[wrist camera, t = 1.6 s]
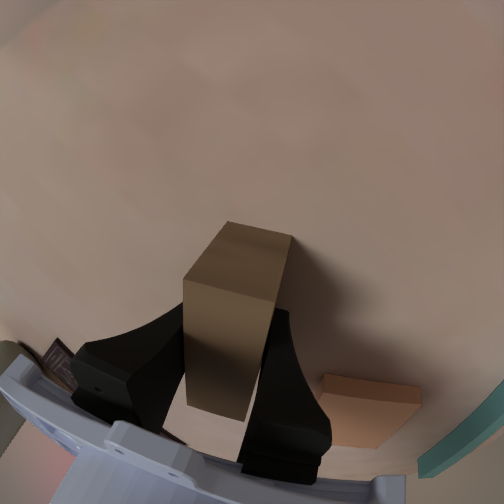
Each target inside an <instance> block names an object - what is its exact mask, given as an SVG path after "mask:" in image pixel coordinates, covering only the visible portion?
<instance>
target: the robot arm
mask: <svg viewBox="0 0 504 504" xmlns="http://www.w3.org/2000/svg"><path fill="white" fill-rule="evenodd" d="M69 367H70V370H71V372H72V374H73V376H74V378H75V380H76V382H77V384H78V388H77V389H76V390H75V392H74V393H73V394H72V393H70V392H68V391H67V390H65V389H63V388H62V387H60V386H59V385H57V384H56V383H54V382H53V381H51V380H49V379H48V378H47V377H45V376H44V375H42V374H41V371H40V369H39V368H38V366H37V365H36V364H35V363H34V362H33V361H31V360H30V359H29V358H27V357H26V356H24V355H23V354H20V355H19V356H18V357H17V358H16V359H15V360H14V362H13V363H12V364H11V365H10V366H9V367H8V368H7V370H6V371H5V372H4V373H3V374H2V375H1V376H0V391H1V393H2V394H3V395H4V396H5V398H6V399H7V400H8V401H9V403H10V404H11V405H12V406H13V408H14V409H15V410H16V411H17V412H18V413H20V414H21V415H22V416H23V417H24V418H25V419H27V420H28V421H29V422H30V423H31V424H33V425H34V426H35V427H36V428H38V429H39V430H40V431H41V432H43V433H44V434H45V435H46V436H48V437H49V438H50V439H52V440H53V441H54V442H56V443H57V444H58V445H60V446H61V447H62V448H64V449H65V450H66V451H68V452H69V453H71V454H72V455H74V456H75V457H76V459H75V460H74V462H73V463H72V465H71V467H70V468H69V470H68V472H67V474H66V475H65V477H64V479H63V480H62V482H61V484H60V485H59V487H58V489H57V491H56V492H55V494H54V496H53V498H52V499H51V501H50V503H49V504H406V476H405V475H381V476H377V477H375V478H374V479H372V480H371V481H355V480H339V479H328V478H318V477H317V473H318V466H320V464H321V457H322V456H323V455H324V454H325V453H326V452H327V451H328V450H329V449H330V447H331V445H332V428H331V422H330V419H329V418H328V416H327V415H326V414H325V412H324V411H323V410H322V408H321V407H320V405H319V404H318V402H317V400H316V399H315V397H314V395H313V393H312V392H311V390H310V388H309V386H308V384H307V382H306V380H305V378H304V375H303V373H302V371H301V368H300V365H299V363H298V360H297V356H296V353H295V349H294V346H293V341H292V336H291V331H290V323H289V312H288V311H287V310H283V309H279V308H275V310H274V313H273V317H272V321H271V325H270V329H269V333H268V337H267V341H266V345H265V349H264V353H263V357H262V363H261V369H260V375H259V381H258V387H257V393H256V397H255V401H254V405H253V408H252V412H251V415H250V419H249V422H248V426H247V429H246V432H245V436H244V439H243V442H242V446H241V449H240V452H239V455H238V458H237V462H233V461H229V460H225V459H222V458H218V457H215V456H212V455H208V454H205V453H202V452H199V451H196V450H194V449H192V448H190V447H188V446H185V445H183V444H181V443H178V442H175V441H172V440H170V439H167V438H165V437H162V436H160V432H161V429H162V427H163V424H164V421H165V418H166V416H167V413H168V410H169V408H170V405H171V403H172V400H173V398H174V395H175V393H176V390H177V388H178V386H179V383H180V381H181V379H182V377H183V375H184V373H185V361H184V332H183V302H182V303H180V304H179V305H178V306H176V307H175V308H173V309H172V310H170V311H169V312H167V313H165V314H164V315H162V316H161V317H159V318H157V319H155V320H154V321H152V322H150V323H148V324H146V325H144V326H142V327H140V328H137V329H135V330H132V331H129V332H127V333H124V334H121V335H118V336H115V337H111V338H107V339H103V340H97V341H92V342H86V343H85V344H84V345H83V346H82V347H81V348H80V349H79V350H78V352H77V353H76V354H75V355H74V357H73V358H72V359H71V360H70V362H69Z"/></svg>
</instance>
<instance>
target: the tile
mask: <svg viewBox="0 0 504 504" xmlns="http://www.w3.org/2000/svg"><path fill="white" fill-rule="evenodd" d="M314 397H315V399H316V400H317V402H318V404H319V405H320V407H321V408H322V410H323V411H324V412H325V414H326V415H327V416H328V418H329V419H330V422H331V428H332V445H338V446H347V447H358V448H371V449H377V448H378V447H379V446H380V445H381V444H383V443H384V442H385V441H386V440H387V439H388V438H389V437H390V436H391V435H392V434H394V433H395V432H396V431H397V430H398V429H399V428H400V427H401V426H402V425H403V424H404V423H405V422H406V421H407V420H408V419H409V418H410V417H411V416H412V415H413V414H414V413H415V412H416V411H417V410H418V409H419V408H420V407H421V406H422V399H421V393H420V387H418V386H408V385H399V384H390V383H383V382H375V381H368V380H362V379H355V378H349V377H343V376H337V375H332V374H326V373H325V374H324V376H323V378H322V380H321V382H320V384H319V385H318V387H317V389H316V391H315V393H314Z"/></svg>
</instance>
